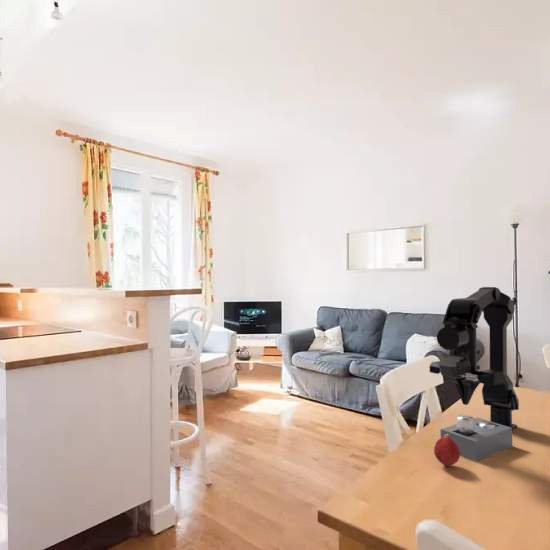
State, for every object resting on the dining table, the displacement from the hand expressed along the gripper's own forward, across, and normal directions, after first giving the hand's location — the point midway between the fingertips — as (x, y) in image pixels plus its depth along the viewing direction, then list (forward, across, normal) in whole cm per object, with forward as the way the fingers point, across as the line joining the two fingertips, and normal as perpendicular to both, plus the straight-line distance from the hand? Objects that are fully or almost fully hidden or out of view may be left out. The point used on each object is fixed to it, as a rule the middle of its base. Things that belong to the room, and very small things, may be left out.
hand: (465, 404), depth 107 cm
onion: (+13, +3, -12) cm, 18 cm away
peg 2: (+12, 0, +10) cm, 16 cm away
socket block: (+12, 0, +5) cm, 13 cm away
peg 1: (+8, 0, 0) cm, 8 cm away
